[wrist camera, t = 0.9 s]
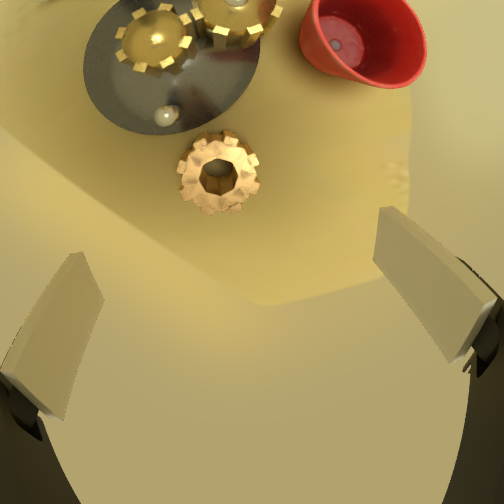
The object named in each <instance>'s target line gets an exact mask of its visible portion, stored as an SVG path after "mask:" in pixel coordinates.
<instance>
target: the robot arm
mask: <svg viewBox="0 0 504 504" xmlns="http://www.w3.org/2000/svg"><path fill="white" fill-rule="evenodd" d="M373 261H374V262H375V264H376V265H377V266H378V267H379V269H380V270H381V271H382V272H383V273H384V275H385V276H386V277H387V278H388V280H389V281H390V282H391V283H392V284H393V286H394V287H395V288H396V290H397V291H398V292H399V293H400V295H401V296H402V297H403V299H404V300H405V301H406V303H407V304H408V305H409V307H410V308H411V309H412V311H413V312H414V313H415V315H416V316H417V318H418V319H419V320H420V322H421V323H422V324H423V326H424V327H425V329H426V330H427V332H428V333H429V334H430V336H431V337H432V338H433V340H434V342H435V343H436V345H437V346H438V347H439V349H440V350H441V352H442V354H443V355H444V357H445V358H446V360H447V361H448V363H449V364H452V363H454V362H456V361H458V360H460V359H462V358H463V357H464V356H465V355H466V353H467V352H468V350H469V349H470V347H471V346H472V347H473V349H474V350H475V351H474V353H473V354H472V356H471V357H470V359H469V360H468V362H467V363H466V364H465V366H464V368H463V372H465V371H466V370H467V368H468V367H469V366H470V365H471V369H470V370H469V372H468V373H470V374H471V375H470V387H469V396H468V405H467V412H466V418H465V424H464V429H463V434H462V439H461V444H460V448H459V452H458V456H457V460H456V463H455V467H454V470H453V474H452V477H451V480H450V483H449V486H448V489H447V492H446V494H445V497H444V500H443V502H442V504H504V300H503V299H502V298H501V297H500V296H499V295H498V294H497V293H496V292H495V291H494V290H493V289H492V288H491V287H490V286H489V285H488V284H487V283H486V282H485V281H484V280H483V279H482V278H481V277H479V275H478V274H477V273H476V272H475V271H474V270H473V271H472V268H471V267H470V266H469V265H468V264H467V263H465V262H464V261H463V260H461V259H459V258H458V257H456V256H454V255H453V254H452V253H451V252H450V251H449V250H447V249H446V248H445V247H444V246H443V245H442V244H441V243H439V242H438V241H437V240H436V239H435V238H433V237H432V236H431V235H430V234H429V233H427V232H426V231H425V230H424V229H422V228H421V227H420V226H418V225H417V224H416V223H415V222H414V221H412V220H411V219H409V218H408V217H407V216H406V215H404V214H403V213H402V212H400V211H399V210H398V209H396V208H395V207H394V206H391V207H381V208H380V209H379V218H378V227H377V235H376V242H375V249H374V256H373ZM103 303H104V298H103V295H102V293H101V291H100V289H99V287H98V285H97V283H96V281H95V279H94V277H93V274H92V272H91V270H90V268H89V265H88V263H87V261H86V258H85V256H84V254H83V252H78V253H73V254H70V255H69V256H68V257H67V259H66V260H65V261H64V263H63V264H62V266H61V267H60V268H59V270H58V271H57V273H56V274H55V275H54V277H53V278H52V279H51V281H50V282H49V284H48V285H47V287H46V288H45V290H44V291H43V293H42V294H41V296H40V297H39V299H38V301H37V302H36V304H35V305H34V307H33V309H32V310H31V312H30V314H29V315H28V317H27V319H26V320H25V322H24V324H23V325H22V327H21V328H20V330H19V332H18V333H17V335H16V338H15V339H14V341H13V343H12V346H11V347H10V349H9V351H8V353H7V355H6V357H5V359H4V361H3V363H2V365H1V367H0V504H81V503H80V502H79V500H78V498H77V496H76V494H75V493H74V491H73V489H72V487H71V485H70V483H69V482H68V480H67V478H66V476H65V474H64V472H63V470H62V468H61V466H60V463H59V461H58V459H57V457H56V455H55V452H54V450H53V447H52V445H51V442H50V440H49V437H48V435H47V432H46V429H45V426H44V424H43V421H42V419H41V418H40V417H39V416H38V415H37V414H38V411H39V410H40V411H41V412H43V413H44V414H45V415H46V416H47V417H49V418H51V419H56V420H60V421H63V420H64V417H65V413H66V409H67V405H68V401H69V398H70V394H71V391H72V387H73V384H74V381H75V378H76V375H77V372H78V368H79V365H80V363H81V359H82V357H83V354H84V351H85V348H86V345H87V343H88V340H89V337H90V335H91V332H92V330H93V327H94V325H95V322H96V320H97V317H98V314H99V312H100V310H101V307H102V305H103Z"/></svg>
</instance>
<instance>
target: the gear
mask: <svg viewBox="0 0 504 504" xmlns="http://www.w3.org/2000/svg"><path fill="white" fill-rule="evenodd" d="M215 158H219V159H223V160H226V161H230V162H232V163H233V167H232V170H231V172H230V173H228V174H226V175H224V176H222V177H220V178H218V177H215V176H211V175H208V174H207V172H206V170H205V169H204V167H203V165H204V164H206V163H208V162H210V161H211V160H213V159H215ZM257 165H259V162H258V160H257V158H256V156H255V154H254V152H253V151H252V150H251V148H250V147H249V145H248V144H247V143H246V144H244V145H241V143H240V141H239V140H238V138H237V136H236V135H235V133H234V132H231V131H227V130H224V131H223V134H222V135H221V134H218V133H215V134H213V135H211V136H210V135H209V133H208V132H205V133H203V134H201V135H199V136H198V137H197V138H196V140H195V141H194V143H193V148H192V149H191V150H190V149H187V150H186V151H185V153H184V154H183V156H182V158H181V159H180V161H179V165H178V168H177V173H181V174H183V176H182V180H181V182H182V185H181V188H180V190H179V192H180V194H181V195H182V197H183V199H184V200H185V202H186V201H187V200H189V199H192V201H193V202H194V204H195V205H197V206H201V213H203V214H207V215H211V216H213V213H214V210H216V211H220V212H223V211H225V210H227V209H229V210H230V212H231V214H233V213H235V212H237V211H239V210H241V209H243V208H242V204H241V202H243V201H245V200H247V198H248V195H249V193H252V194H255V195H256V193H257V190H258V188H259V185H260V182H259V180H258V178H257V176H256V172H255V170H254V168H253V167H255V166H257Z"/></svg>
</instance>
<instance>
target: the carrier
mask: <svg viewBox="0 0 504 504" xmlns="http://www.w3.org/2000/svg"><path fill="white" fill-rule="evenodd" d="M282 10H283V7H280V6H277V5H276V0H120V1H119V2H117V3H116V4H115V5H114V6H113V7H112V8H111V9H110V10H109V11H108V12H107V13H106V14H105V15H104V16H103V18H102V19H101V20H100V21H99V23H98V24H97V26H96V28H95V29H94V31H93V33H92V35H91V37H90V39H89V42H88V45H87V48H86V51H85V57H84V70H83V72H84V81H85V85H86V88H87V91H88V94H89V96H90V98H91V100H92V102H93V103H94V105H95V106H96V108H97V109H98V110H99V111H100V112H101V113H102V114H103V115H104V116H105V117H106V118H107V119H108V120H110V121H111V122H113V123H114V124H116V125H118V126H120V127H122V128H124V129H127V130H129V131H133V132H136V133H141V134H148V135H165V134H174V133H179V132H184V131H187V130H190V129H193V128H196V127H198V126H200V125H203V124H205V123H207V122H209V121H210V120H212V119H214V118H215V117H217V116H219V115H220V114H221V113H223V112H224V111H225V110H227V109H228V108H229V107H230V106H231V105H232V104H233V103H234V102H235V101H236V100H237V99H238V98H239V97H240V95H241V94H242V93H243V92H244V90H245V89H246V87H247V86H248V84H249V83H250V81H251V79H252V77H253V75H254V73H255V70H256V67H257V64H258V59H259V54H260V37H259V36H260V35H261V33H263V34H267V32H268V31H269V30H270V28H271V27H272V26H273V25H274V23H275V22H276V21H277V19H278V18H279V16H280V14H281V12H282Z"/></svg>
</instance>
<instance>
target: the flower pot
mask: <svg viewBox="0 0 504 504" xmlns="http://www.w3.org/2000/svg"><path fill="white" fill-rule="evenodd" d="M299 45H300V48H301V50H302V53H303V55H304V56H305V58H306V59H307V60H308V61H309V62H310V63H311V64H312V65H313V66H314V67H315V68H317V69H318V70H320V71H322V72H324V73H327V74H330V75H334V76H338V77H341V78H345V79H349V80H353V81H356V82H359V83H363V84H366V85H370V86H374V87H379V88H385V89H395V88H401V87H405V86H407V85H409V84H411V83H412V82H414V81H415V80H416V79H417V78H418V77H419V75H420V74H421V72H422V70H423V68H424V65H425V62H426V57H427V44H426V39H425V34H424V31H423V28H422V26H421V23H420V21H419V19H418V17H417V15H416V14H415V12H414V11H413V9H412V8H411V7H410V5H409V4H408V3H407V2H406V1H405V0H312V1H311V3H310V5H309V8H308V10H307V12H306V15H305V17H304V20H303V23H302V26H301V29H300V33H299Z"/></svg>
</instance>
